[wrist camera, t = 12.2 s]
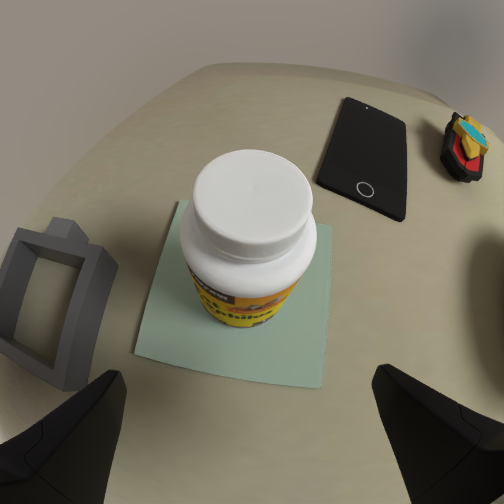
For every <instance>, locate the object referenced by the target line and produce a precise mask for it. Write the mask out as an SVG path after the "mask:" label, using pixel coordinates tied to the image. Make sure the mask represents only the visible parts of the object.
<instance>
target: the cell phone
mask: <svg viewBox="0 0 504 504" xmlns="http://www.w3.org/2000/svg"><path fill="white" fill-rule="evenodd" d="M316 182H317V184H318V185H319V186H321V187H323V188H325V189H327V190H330V191H332V192H334V193H337V194H339V195H341V196H344V197H346V198H348V199H350V200H353V201H355V202H357V203H359V204H362V205H364V206H366V207H368V208H370V209H372V210H374V211H377V212H379V213H381V214H383V215H385V216H387V217H389V218H391V219H393V220H395V221H398V222H402V221H403V220H404V219H405V215H406V198H407V142H406V125H405V123H404V122H403V121H401V120H399V119H397V118H395V117H393V116H391V115H389V114H387V113H385V112H383V111H381V110H378V109H376V108H374V107H372V106H369V105H367V104H365V103H362V102H360V101H358V100H355V99H353V98H350V97H346V98H345V101H344V104H343V107H342V110H341V113H340V116H339V119H338V122H337V125H336V128H335V130H334V133H333V136H332V139H331V142H330V145H329V148H328V150H327V153H326V156H325V159H324V162H323V164H322V167H321V170H320V173H319V175H318V178H317V181H316Z"/></svg>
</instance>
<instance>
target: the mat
mask: <svg viewBox="0 0 504 504" xmlns="http://www.w3.org/2000/svg"><path fill="white" fill-rule="evenodd" d="M189 202H190V201H187V200H180V202H179V205H178V207H177V210H176V213H175V216H174V218H173V221H172V224H171V227H170V230H169V233H168V236H167V238H166V241H165V244H164V247H163V250H162V254H161V257H160V260H159V263H158V266H157V269H156V273H155V276H154V279H153V283H152V286H151V290H150V293H149V297H148V300H147V304H146V307H145V311H144V315H143V319H142V323H141V327H140V331H139V335H138V339H137V343H136V347H135V352H134V354H136V355H139V356H142V357H146V358H149V359H152V360H156V361H160V362H163V363H167V364H171V365H175V366H179V367H183V368H187V369H191V370H196V371H200V372H205V373H210V374H215V375H220V376H225V377H231V378H236V379H242V380H249V381H255V382H262V383H270V384H278V385H286V386H296V387H308V388H321V383H322V376H323V368H324V359H325V350H326V340H327V329H328V317H329V304H330V288H331V266H332V226H330V225H325V224H320V223H315V224H316V231H317V242H316V248H315V252H314V255H313V258H312V260H311V262H310V264H309V266H308V268H307V269H306V271H305V272H304V274H303V275H302V277H301V278H300V280H299V281H298V283H297V284H296V286H295V287H294V289H293V290H292V292H291V293H290V294H289V296H288V297H287V299H286V300H285V302H284V303H283V305H282V306H281V307H280V309H279V311H278V312H277V313H276V314H275V315H274V316H273V317H272V318H271V319H270V320H268V321H267V322H265V323H263V324H261V325H259V326H256V327H252V328H246V329H239V328H232V327H228V326H226V325H223V324H221V323H219V322H218V321H216V320H215V319H214V318H212V317H211V316H210V315H209V313H208V312H207V311H206V310H205V308H204V306H203V305H202V303H201V300H200V298H199V295H198V293H197V290H196V287H195V285H194V282H193V279H192V277H191V274H190V272H189V269H188V266H187V263H186V261H185V258H184V255H183V252H182V248H181V243H180V224H181V219H182V216H183V213H184V211H185V209H186V207H187V205H188V203H189Z"/></svg>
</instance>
